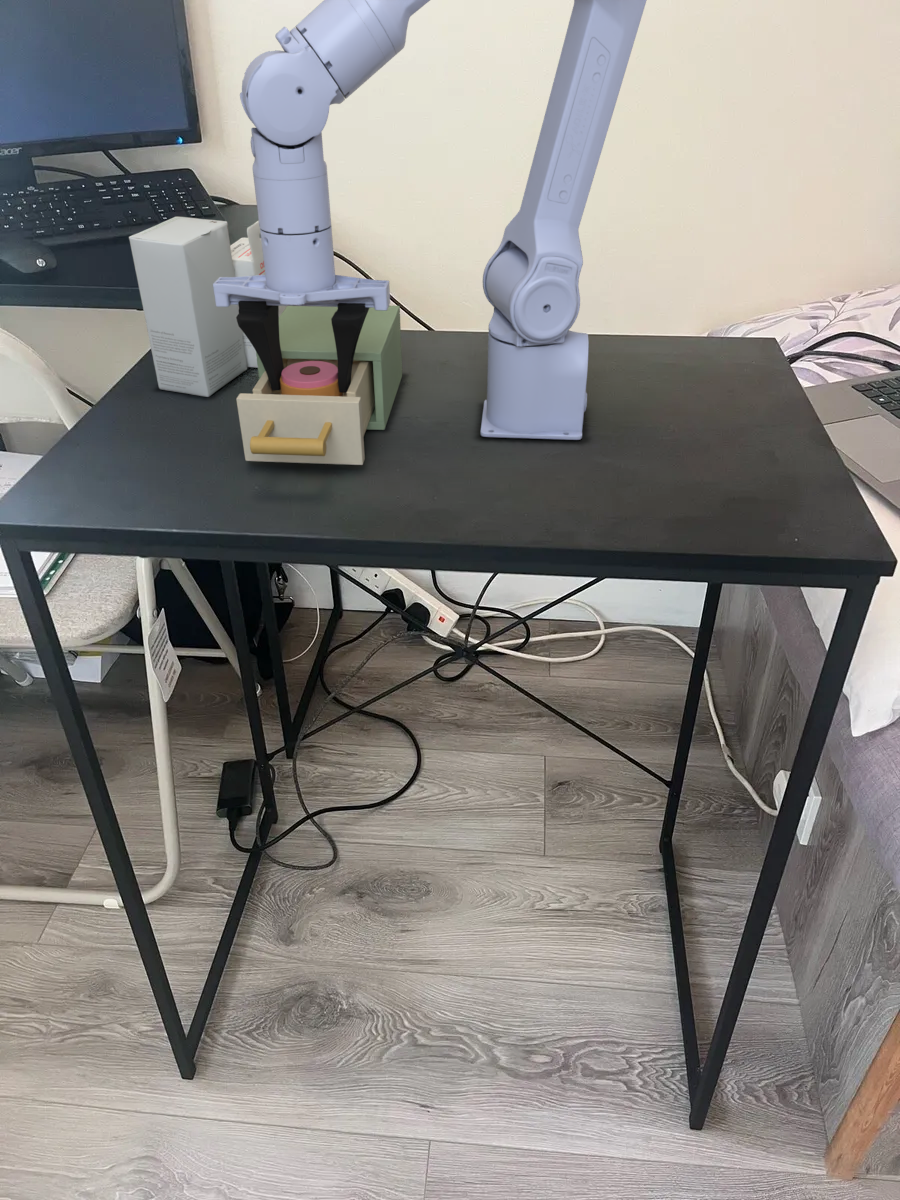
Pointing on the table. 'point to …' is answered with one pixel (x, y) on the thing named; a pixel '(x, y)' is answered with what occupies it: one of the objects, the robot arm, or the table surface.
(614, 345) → the table surface
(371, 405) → the drawer
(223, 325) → the cosmetic box
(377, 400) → the cabinet
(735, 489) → the table surface
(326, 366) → the donut
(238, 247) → the ink cartridge box
